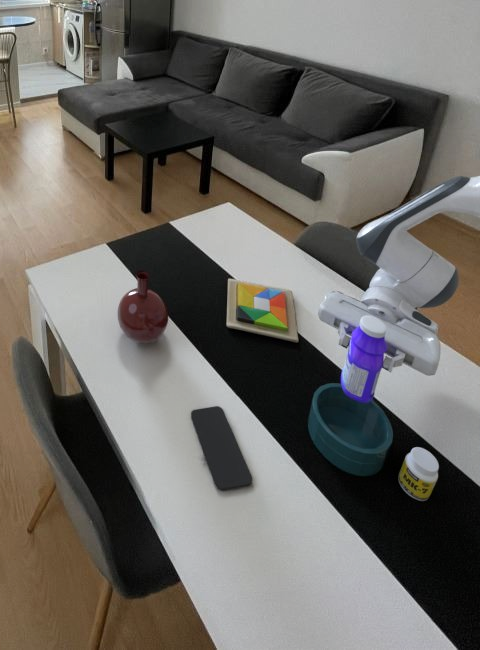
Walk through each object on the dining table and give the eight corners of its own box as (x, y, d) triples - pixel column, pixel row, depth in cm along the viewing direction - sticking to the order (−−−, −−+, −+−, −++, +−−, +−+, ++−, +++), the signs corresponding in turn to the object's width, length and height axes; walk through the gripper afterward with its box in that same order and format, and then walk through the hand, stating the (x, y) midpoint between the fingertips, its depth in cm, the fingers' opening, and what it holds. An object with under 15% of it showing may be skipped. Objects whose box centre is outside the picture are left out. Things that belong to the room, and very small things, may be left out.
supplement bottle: (395, 486, 80) (405, 458, 77) (400, 466, 83) (411, 438, 80) (427, 508, 76) (439, 480, 73) (431, 486, 79) (443, 458, 76)
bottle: (340, 367, 90) (355, 304, 83) (372, 379, 87) (390, 315, 80) (338, 397, 84) (355, 332, 78) (373, 411, 81) (393, 345, 75)
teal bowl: (397, 446, 86) (405, 423, 83) (364, 493, 79) (372, 470, 76) (328, 393, 96) (334, 371, 94) (294, 430, 90) (299, 408, 87)
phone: (221, 405, 94) (255, 483, 81) (221, 407, 95) (254, 485, 81) (189, 410, 94) (217, 489, 80) (188, 412, 94) (217, 492, 80)
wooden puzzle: (226, 330, 113) (227, 321, 112) (227, 280, 130) (228, 271, 128) (298, 346, 108) (300, 336, 106) (290, 292, 124) (292, 283, 123)
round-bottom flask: (144, 365, 105) (144, 303, 98) (107, 332, 115) (105, 273, 107) (178, 334, 113) (180, 275, 105) (141, 306, 122) (141, 250, 115)
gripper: (332, 277, 96) (309, 313, 87) (448, 329, 82) (435, 378, 73) (327, 298, 98) (304, 336, 90) (440, 352, 84) (426, 403, 76)
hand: (364, 355), depth 81 cm, fingers closed on bottle, 6 cm apart
